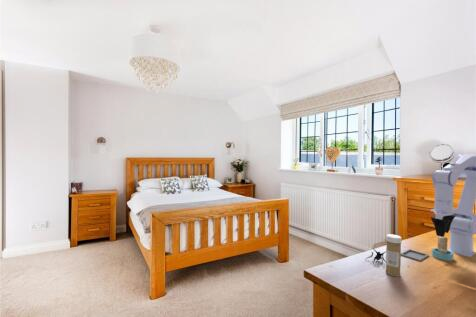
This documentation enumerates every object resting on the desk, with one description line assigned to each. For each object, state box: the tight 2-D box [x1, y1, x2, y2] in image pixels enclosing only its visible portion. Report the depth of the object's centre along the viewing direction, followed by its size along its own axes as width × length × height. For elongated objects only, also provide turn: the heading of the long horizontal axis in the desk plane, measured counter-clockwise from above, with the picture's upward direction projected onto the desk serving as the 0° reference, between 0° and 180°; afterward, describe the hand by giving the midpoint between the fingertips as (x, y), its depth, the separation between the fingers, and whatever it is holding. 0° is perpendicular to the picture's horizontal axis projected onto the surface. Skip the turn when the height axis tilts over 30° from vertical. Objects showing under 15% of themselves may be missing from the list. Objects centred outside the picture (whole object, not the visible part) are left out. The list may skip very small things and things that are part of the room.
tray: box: [401, 248, 430, 262], centre depth 102 cm, size 9×7×1 cm
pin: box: [437, 236, 449, 254], centre depth 100 cm, size 3×3×8 cm
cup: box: [431, 247, 455, 262], centre depth 101 cm, size 7×7×3 cm
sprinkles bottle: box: [385, 233, 403, 277], centre depth 87 cm, size 5×5×14 cm
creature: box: [365, 249, 386, 265], centre depth 96 cm, size 8×5×8 cm
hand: (442, 234), depth 99 cm, fingers open, 7 cm apart
